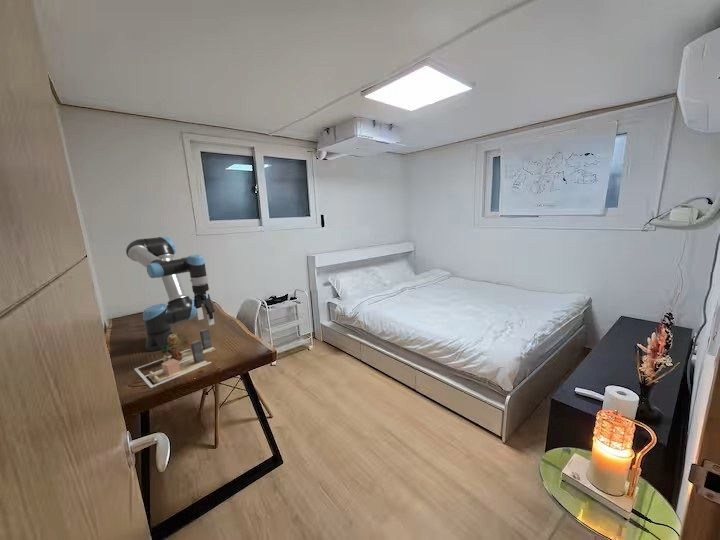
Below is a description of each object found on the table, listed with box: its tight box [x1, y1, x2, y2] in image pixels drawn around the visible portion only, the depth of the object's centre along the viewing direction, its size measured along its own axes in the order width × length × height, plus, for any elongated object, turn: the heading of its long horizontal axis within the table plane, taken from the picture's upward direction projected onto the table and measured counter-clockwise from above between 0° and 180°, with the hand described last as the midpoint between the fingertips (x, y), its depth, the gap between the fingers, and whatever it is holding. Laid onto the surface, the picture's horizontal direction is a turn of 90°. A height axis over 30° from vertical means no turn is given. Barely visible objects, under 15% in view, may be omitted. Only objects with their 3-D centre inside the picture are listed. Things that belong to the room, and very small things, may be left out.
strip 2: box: [147, 339, 209, 385], centre depth 136 cm, size 11×22×11 cm, turn 140°
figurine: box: [160, 332, 183, 361], centre depth 144 cm, size 9×8×15 cm
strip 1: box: [162, 328, 217, 363], centre depth 151 cm, size 11×22×11 cm, turn 140°
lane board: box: [133, 348, 212, 389], centre depth 140 cm, size 27×25×1 cm
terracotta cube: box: [161, 359, 181, 376], centre depth 134 cm, size 5×5×5 cm
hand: (206, 321), depth 157 cm, fingers open, 13 cm apart
